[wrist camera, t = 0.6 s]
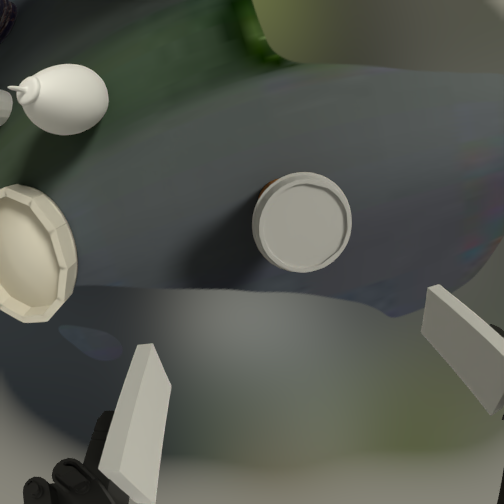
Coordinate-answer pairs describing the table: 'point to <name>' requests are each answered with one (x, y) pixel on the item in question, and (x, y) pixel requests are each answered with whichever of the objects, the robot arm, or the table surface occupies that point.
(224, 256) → the table surface
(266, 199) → the disposable coffee cup
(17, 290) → the cream bowl
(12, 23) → the storage jar
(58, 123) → the sauce bottle
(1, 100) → the shot glass
